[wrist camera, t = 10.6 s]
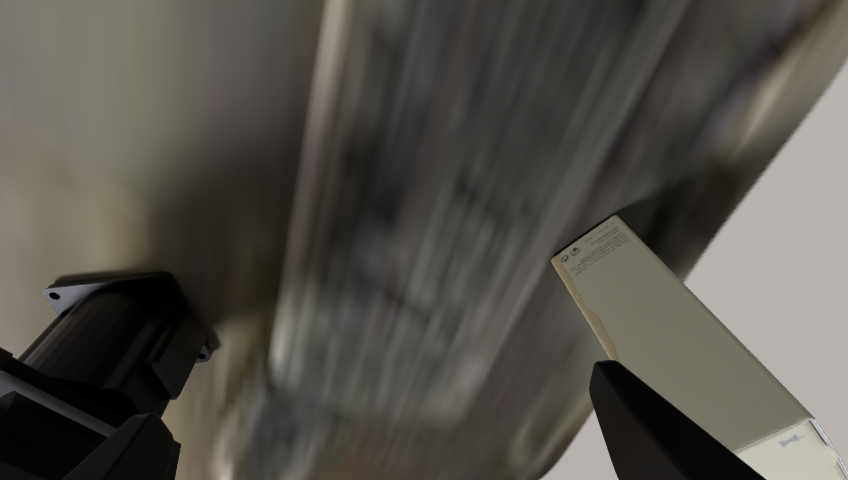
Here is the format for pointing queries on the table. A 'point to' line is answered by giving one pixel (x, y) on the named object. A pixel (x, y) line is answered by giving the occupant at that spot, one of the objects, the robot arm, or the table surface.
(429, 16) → the table surface
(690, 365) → the skincare box
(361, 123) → the table surface
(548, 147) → the table surface
